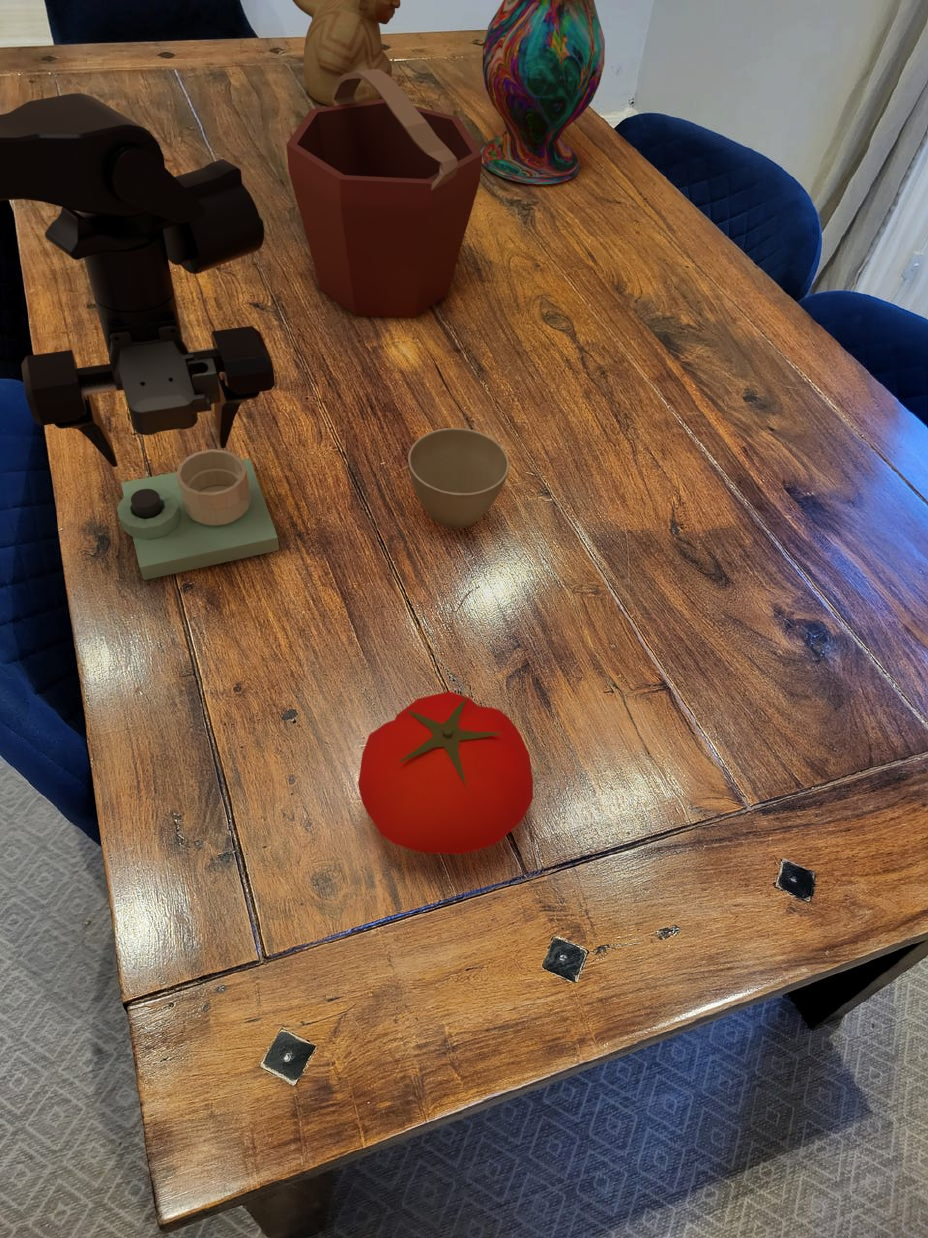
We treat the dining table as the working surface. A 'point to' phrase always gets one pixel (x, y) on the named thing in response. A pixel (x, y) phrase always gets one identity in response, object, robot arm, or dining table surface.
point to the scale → (193, 530)
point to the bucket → (383, 197)
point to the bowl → (214, 487)
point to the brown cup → (457, 474)
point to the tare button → (146, 503)
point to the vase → (540, 84)
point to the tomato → (446, 776)
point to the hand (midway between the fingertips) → (169, 454)
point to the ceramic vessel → (344, 44)
